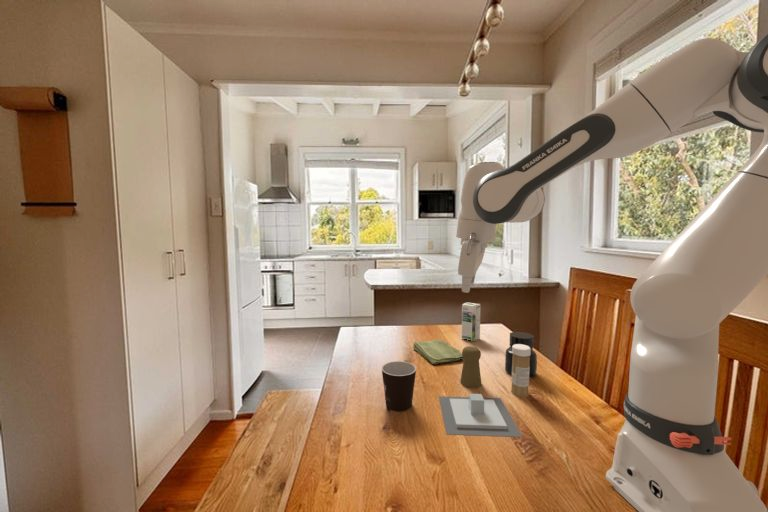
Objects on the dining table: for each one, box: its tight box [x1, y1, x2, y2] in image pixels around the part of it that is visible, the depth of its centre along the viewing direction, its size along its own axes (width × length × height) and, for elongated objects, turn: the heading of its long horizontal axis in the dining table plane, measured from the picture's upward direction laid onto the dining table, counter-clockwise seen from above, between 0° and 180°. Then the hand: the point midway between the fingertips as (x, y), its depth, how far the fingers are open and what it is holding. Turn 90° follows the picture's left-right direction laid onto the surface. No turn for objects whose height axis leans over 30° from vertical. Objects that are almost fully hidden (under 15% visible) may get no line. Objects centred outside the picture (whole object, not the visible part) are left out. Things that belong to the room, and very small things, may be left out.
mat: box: [438, 395, 523, 438], centre depth 77 cm, size 16×16×1 cm
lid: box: [449, 393, 507, 429], centre depth 77 cm, size 11×11×4 cm
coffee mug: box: [381, 360, 417, 413], centre depth 83 cm, size 12×9×10 cm
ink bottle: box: [504, 331, 538, 379], centre depth 101 cm, size 10×9×12 cm
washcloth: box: [412, 339, 464, 366], centre depth 116 cm, size 13×18×3 cm
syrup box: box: [460, 302, 482, 342], centre depth 132 cm, size 6×6×14 cm
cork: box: [459, 345, 482, 389], centre depth 93 cm, size 6×6×11 cm
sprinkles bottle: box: [510, 344, 531, 398], centre depth 87 cm, size 5×5×13 cm
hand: (467, 287), depth 81 cm, fingers open, 8 cm apart
